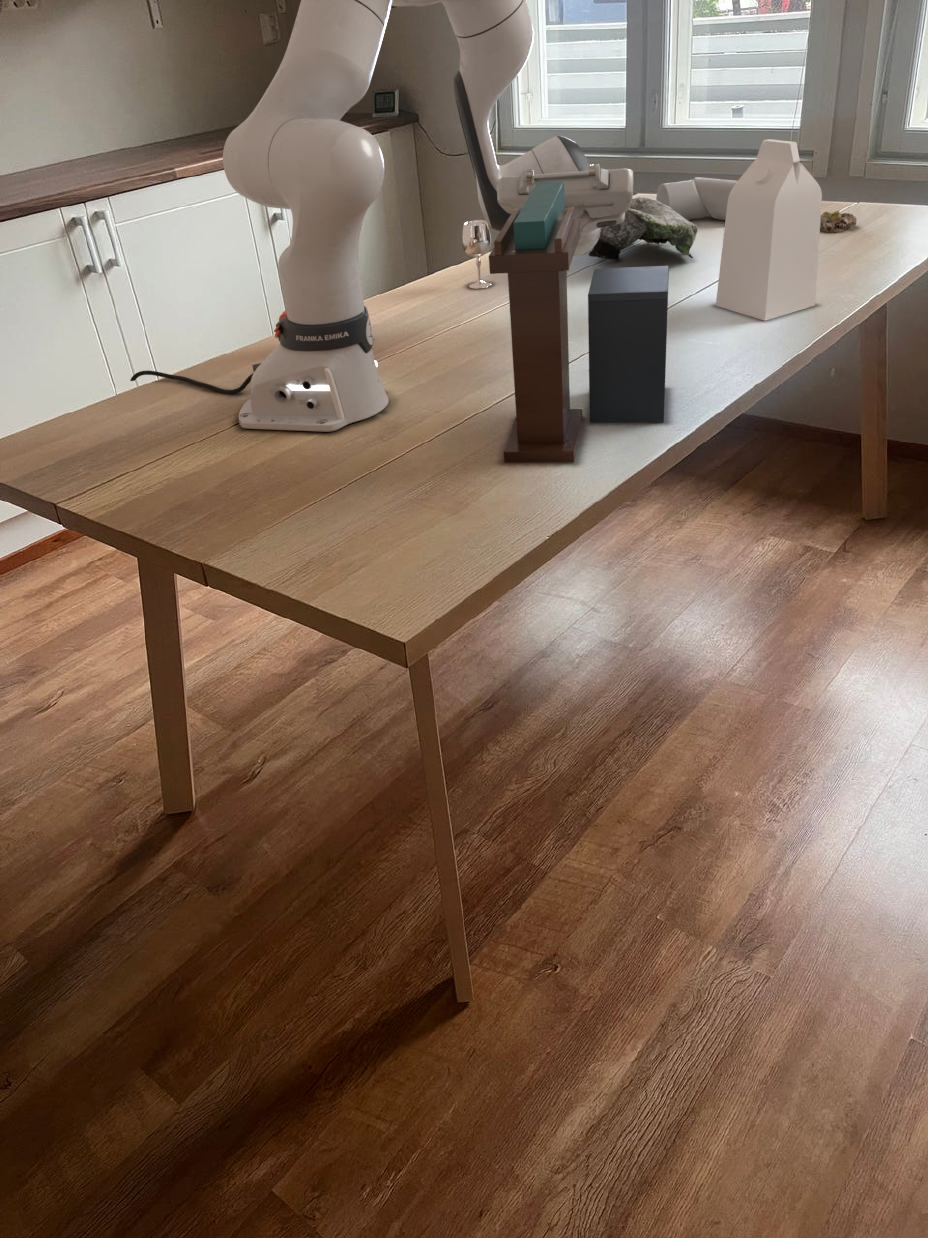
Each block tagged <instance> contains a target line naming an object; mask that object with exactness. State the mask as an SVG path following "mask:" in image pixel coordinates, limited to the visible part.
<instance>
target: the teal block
mask: <svg viewBox="0 0 928 1238" xmlns="http://www.w3.org/2000/svg"><path fill="white" fill-rule="evenodd" d="M564 205H565V190H564V181H548V182H538V183H537V184H536V186H535V188H534V190H533V191H532V193H531V195H530V196H529V198H528V200H527V201H526V203H525V205H524V206H523V208H522V210H521V211H520V213H519V215H518V216H517V218H516V220H515V221H514V238H515V250H529V249H546V246H547V244H548V242H549V239H550V237H551V235H552V233H553V230H554V228H555V226H556V224H557V221H558V219H559V217H560V214H561V212H562V210H563V208H564Z"/></svg>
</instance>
